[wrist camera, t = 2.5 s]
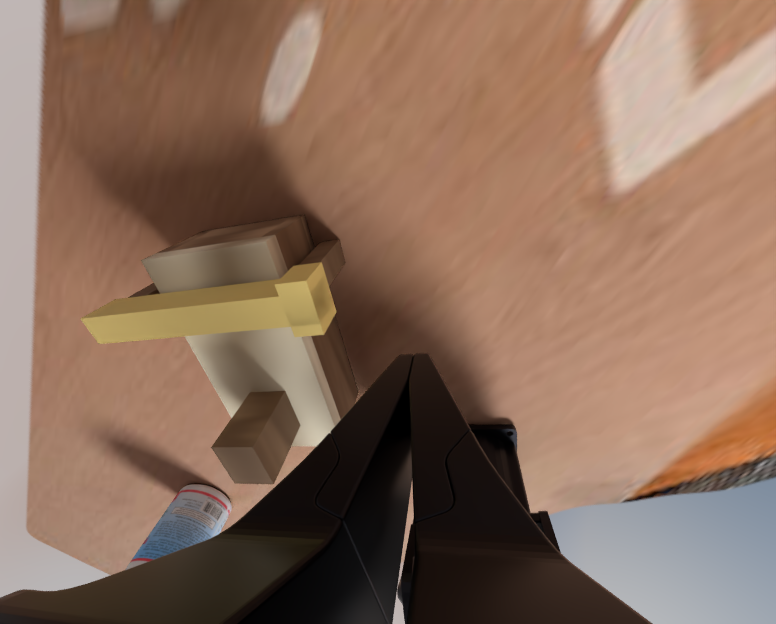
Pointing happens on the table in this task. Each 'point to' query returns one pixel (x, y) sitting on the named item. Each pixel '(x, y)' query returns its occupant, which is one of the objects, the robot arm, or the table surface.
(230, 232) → the toolbox
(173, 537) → the pill bottle
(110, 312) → the yellow long bar
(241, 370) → the lid
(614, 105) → the table surface
